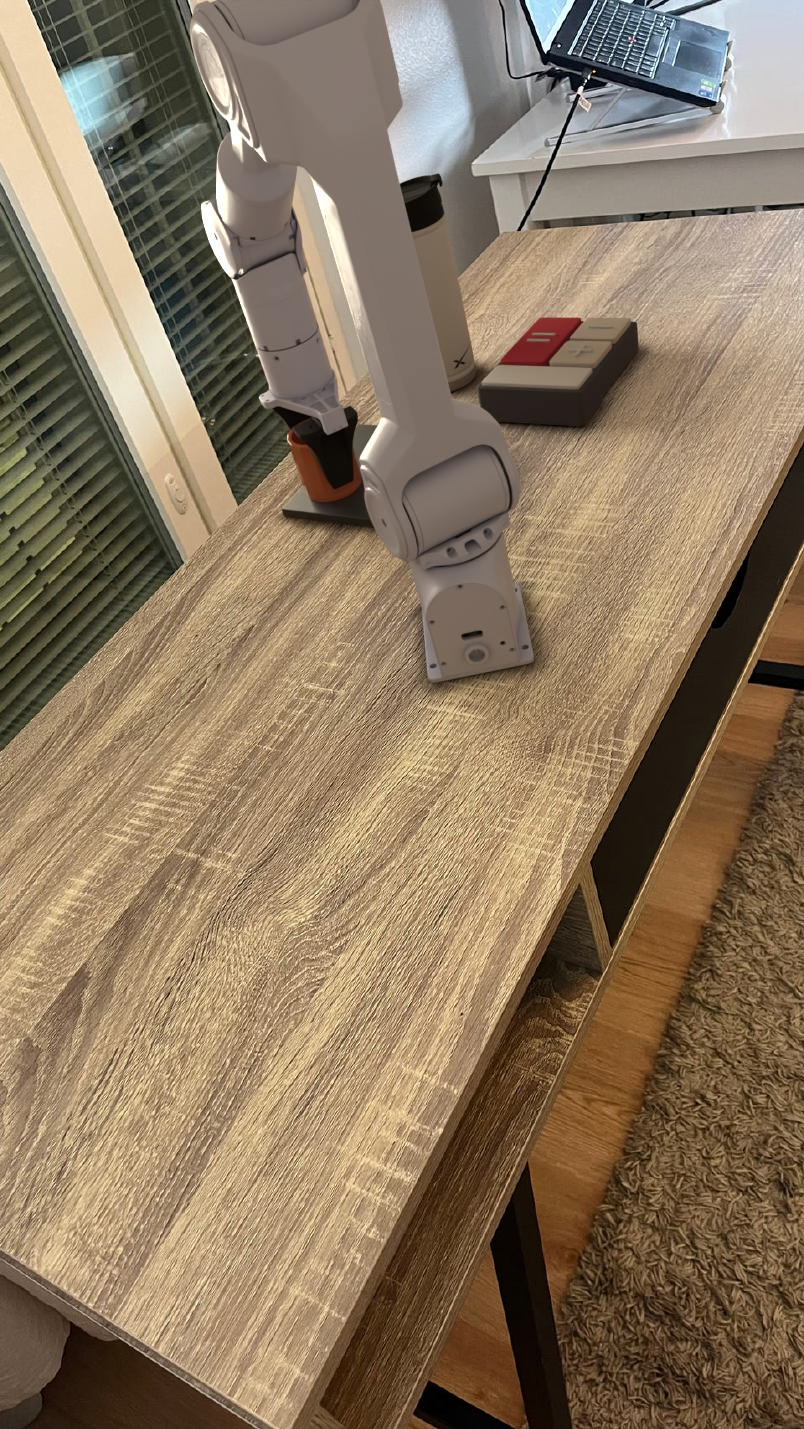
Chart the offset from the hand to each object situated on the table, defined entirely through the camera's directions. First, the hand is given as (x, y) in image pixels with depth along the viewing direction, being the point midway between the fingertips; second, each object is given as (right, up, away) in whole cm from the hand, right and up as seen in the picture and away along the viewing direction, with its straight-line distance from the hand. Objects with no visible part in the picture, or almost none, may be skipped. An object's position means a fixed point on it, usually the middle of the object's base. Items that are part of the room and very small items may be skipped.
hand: (330, 470), depth 101 cm
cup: (0, -1, +1) cm, 2 cm away
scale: (+4, 0, +2) cm, 4 cm away
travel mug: (+12, +13, +13) cm, 22 cm away
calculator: (+23, +10, +6) cm, 26 cm away
